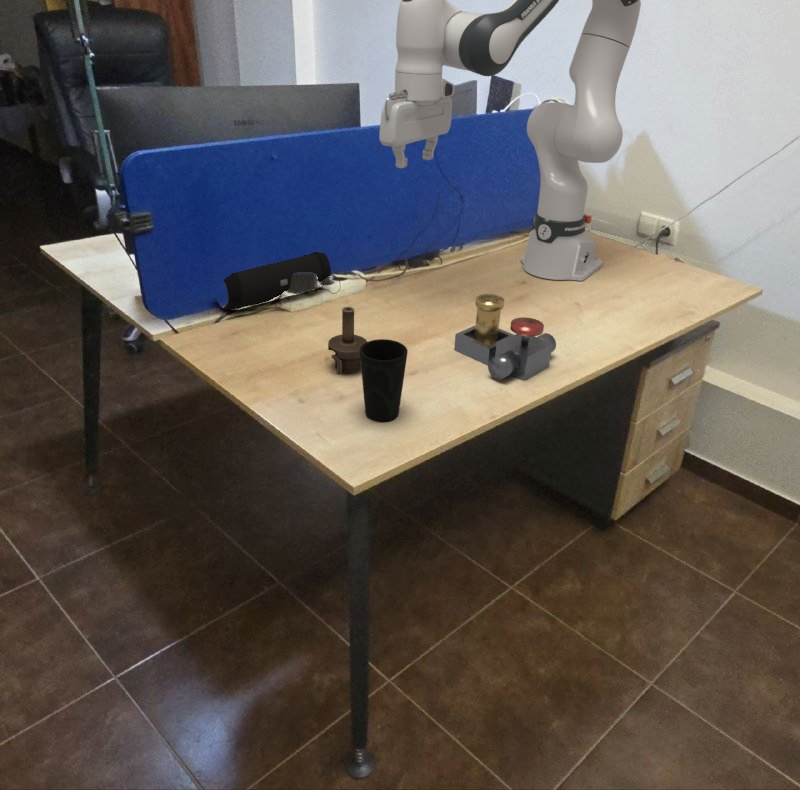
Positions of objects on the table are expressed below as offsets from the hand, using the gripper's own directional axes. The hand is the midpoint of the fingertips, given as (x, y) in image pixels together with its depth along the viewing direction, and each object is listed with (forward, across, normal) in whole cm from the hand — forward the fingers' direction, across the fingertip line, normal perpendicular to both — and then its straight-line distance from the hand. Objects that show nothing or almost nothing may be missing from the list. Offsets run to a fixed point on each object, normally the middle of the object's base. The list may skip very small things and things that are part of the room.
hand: (414, 163), depth 140 cm
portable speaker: (+31, -16, +26) cm, 44 cm away
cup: (+31, -39, -21) cm, 55 cm away
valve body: (+31, -9, -28) cm, 43 cm away
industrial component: (+31, -30, -7) cm, 44 cm away
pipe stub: (+31, -8, -24) cm, 40 cm away
